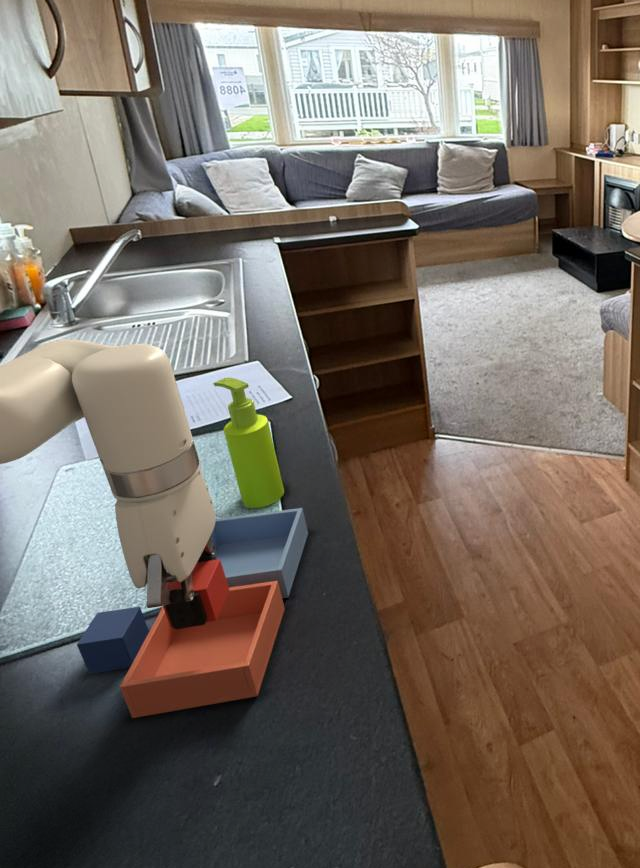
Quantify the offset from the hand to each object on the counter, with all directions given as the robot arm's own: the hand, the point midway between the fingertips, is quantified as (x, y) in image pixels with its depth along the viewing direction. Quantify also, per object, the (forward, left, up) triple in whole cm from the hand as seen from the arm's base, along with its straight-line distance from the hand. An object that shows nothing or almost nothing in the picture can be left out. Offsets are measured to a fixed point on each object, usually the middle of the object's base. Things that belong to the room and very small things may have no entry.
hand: (199, 604), depth 71 cm
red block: (0, 0, -1) cm, 1 cm away
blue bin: (0, +14, -8) cm, 16 cm away
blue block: (-11, +3, -8) cm, 14 cm away
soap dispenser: (-3, +31, -8) cm, 32 cm away
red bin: (0, 0, -8) cm, 8 cm away
